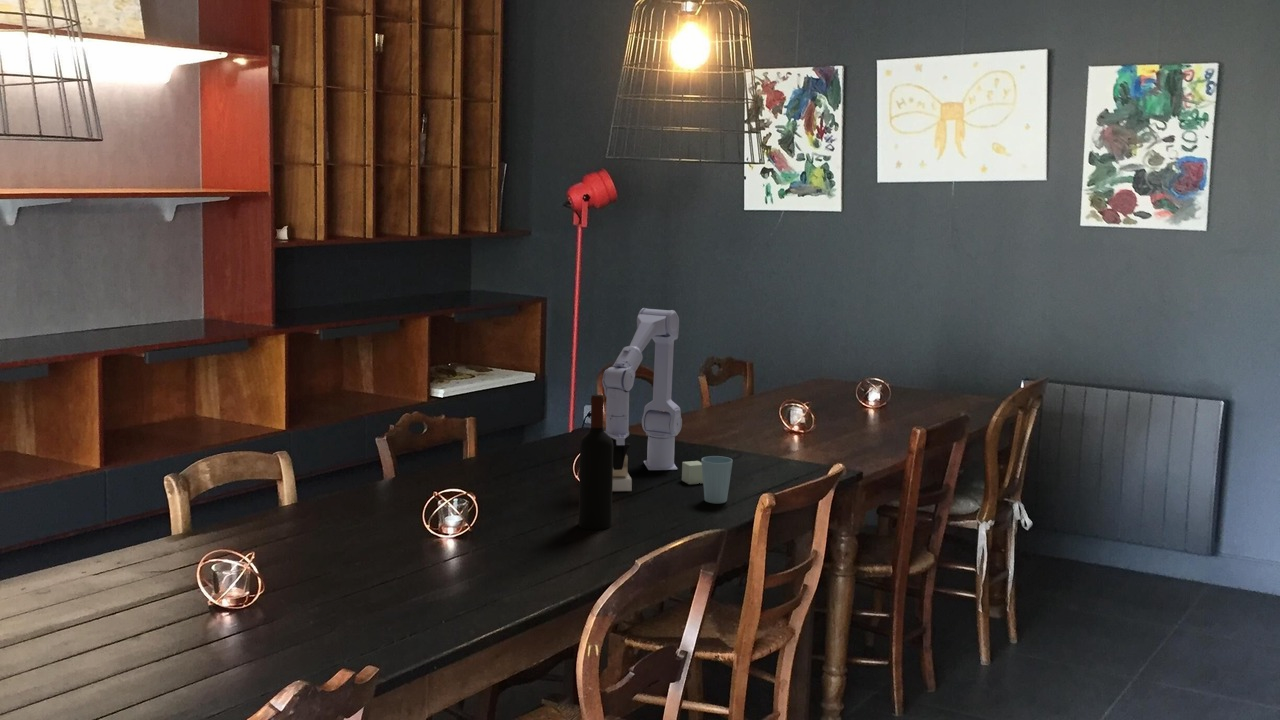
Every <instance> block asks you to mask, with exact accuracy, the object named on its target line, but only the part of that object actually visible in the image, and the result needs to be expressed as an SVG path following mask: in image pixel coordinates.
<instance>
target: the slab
mask: <svg viewBox="0 0 1280 720" xmlns="http://www.w3.org/2000/svg"><path fill="white" fill-rule="evenodd" d="M632 485H633V479H632V477H631V476H630V474H629V472H627V476H613V486H612V492H632V491H633V490H632Z"/></svg>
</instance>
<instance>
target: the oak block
mask: <svg viewBox="0 0 1280 720" xmlns="http://www.w3.org/2000/svg"><path fill="white" fill-rule="evenodd" d="M628 461H629V456H628V455H627V454H626V455H625V459H624V464H623V468H622V470H614V468H613V476H627V473H628V466H629V464H628Z"/></svg>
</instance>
